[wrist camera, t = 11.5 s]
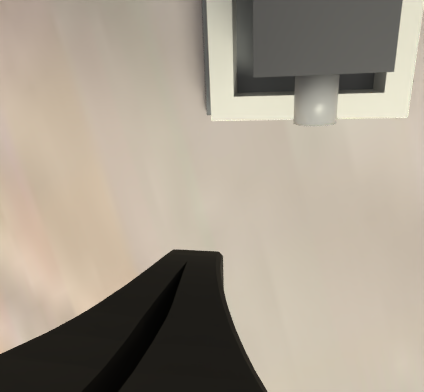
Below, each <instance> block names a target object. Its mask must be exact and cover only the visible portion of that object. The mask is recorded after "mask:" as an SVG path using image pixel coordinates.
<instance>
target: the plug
mask: <svg viewBox="0 0 424 392" xmlns="http://www.w3.org/2000/svg"><path fill="white" fill-rule="evenodd" d="M402 2H403V0H253V78H256V77H281V76H295V91H294V124H296V125H301V126H328V125H333V124H336V119H337V105H338V91H339V77H340V74H355V73H380V72H394V68H395V60H396V52H397V44H398V35H399V27H400V19H401V10H402Z"/></svg>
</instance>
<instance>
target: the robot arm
mask: <svg viewBox="0 0 424 392" xmlns="http://www.w3.org/2000/svg"><path fill="white" fill-rule="evenodd" d="M0 392H267V390H266V388H265V387H264V385H263V383H262V382H261V380H260V378H259V376H258V375H257V373H256V371H255V370H254V368H253V366H252V364H251V362H250V360H249V358H248V356H247V354H246V352H245V350H244V347H243V345H242V343H241V341H240V338H239V336H238V334H237V331H236V329H235V326H234V323H233V321H232V318H231V315H230V312H229V309H228V306H227V302H226V298H225V294H224V287H223V256H222V255H221V254H220V253H219V252H214V251H194V250H172V251H171V252H169V253H168V254H167V255H165V256H164V257H163V258H161V259H160V260H159V261H157V262H156V263H155V264H153V265H152V266H151V267H149V268H148V269H147V270H145V271H144V272H143V273H141V274H140V275H139V276H137V277H136V278H135V279H133V280H132V281H131V282H129V283H128V284H127V285H125V286H124V287H122V288H121V289H119V290H118V291H116V292H115V293H113V294H112V295H110V296H109V297H107V298H106V299H104V300H103V301H101V302H100V303H98V304H97V305H95V306H94V307H92V308H90V309H89V310H87V311H85V312H84V313H82V314H80V315H79V316H77V317H75V318H73V319H71V320H70V321H68V322H66V323H64V324H62V325H60V326H59V327H57V328H55V329H53V330H51V331H49V332H47V333H45V334H43V335H41V336H39V337H36V338H34V339H32V340H30V341H28V342H26V343H23V344H21V345H19V346H17V347H15V348H13V349H10V350H8V351H6V352H4V353H2V354H0Z"/></svg>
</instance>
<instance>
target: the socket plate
mask: <svg viewBox="0 0 424 392" xmlns="http://www.w3.org/2000/svg"><path fill="white" fill-rule="evenodd" d="M423 9H424V0H403V2H402V10H401V19H400V27H399V35H398V44H397V52H396V60H395V68H394V72H380V73H355V74H340V77H339V91H338V105H337V119H364V118H408V112H409V105H410V99H411V92H412V85H413V78H414V71H415V64H416V57H417V50H418V43H419V36H420V29H421V22H422V16H423ZM202 18H203V41H204V63H205V85H206V107H207V115H211V121H244V120H294V91H295V76H281V77H256V78H253V0H202Z"/></svg>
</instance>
